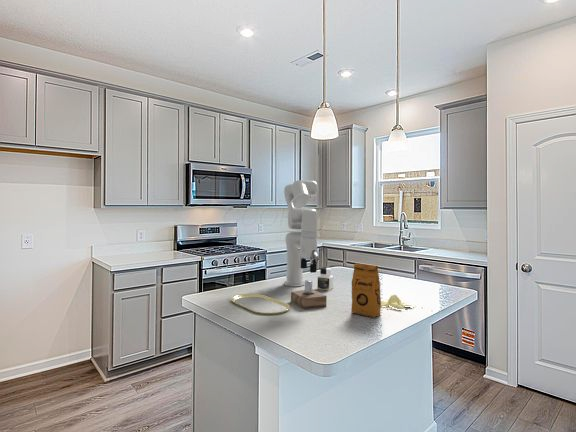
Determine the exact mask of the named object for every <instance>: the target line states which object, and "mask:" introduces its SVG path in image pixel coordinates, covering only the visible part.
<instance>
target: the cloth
mask: <svg viewBox="0 0 576 432" xmlns="http://www.w3.org/2000/svg"><path fill="white" fill-rule="evenodd" d="M387 300H388V301H387V302H386V301H382V300H381V307H382V306H389V305H390V306H392V307H394V308H397V309H407V308H404V307H405V306H412V305H403V304H405V303H406V304H409V303H408V302H402V300H401V299H400V298H399V297H398V295H397V294H391V295H390V297H389V298H388V299H387Z"/></svg>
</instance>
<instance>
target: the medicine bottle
mask: <svg viewBox="0 0 576 432" xmlns="http://www.w3.org/2000/svg"><path fill="white" fill-rule="evenodd" d="M333 288H334V275H332V269H331V268H330V267H327V266H325V267H321V268H320V275H319V276H317V290H321V291H322V290H324V291H330V290H332V289H333Z"/></svg>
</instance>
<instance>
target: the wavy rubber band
mask: <svg viewBox="0 0 576 432" xmlns="http://www.w3.org/2000/svg"><path fill="white" fill-rule="evenodd" d="M248 297H249V298H250V297H251V298H253V297H254V298H260V299H265V300H267V301H269V302H273V303H274V304H277V305H280V306H282V307H285V308H286V309H285V310H281V311H276V312H274V311H273V312H265V311H263V312H262V311H257V310H253V309H251V308H249V307H246V306H244V305H242V304H241V303H238V302H236V300H238V299H242V298H248ZM231 302H232V303H233V304H234V305H237V306H239V307H241V308H244V309H245V308H246V309H245V310H248V311H250V312H252V313H255V314H257V313H258V315H265V316H266V315H267V316H269V315H270V316H271V315H272V316H273V315H280V314H284V313H287V312H288V311H289V310H290V308H291V306H290V304H288V303H286V302H284V301H281V300H278V299H275V298H272V297H270V296H267V295H264V294H259V293H245V294H238V295H235V296H233V297H231Z"/></svg>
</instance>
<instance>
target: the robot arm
mask: <svg viewBox="0 0 576 432" xmlns="http://www.w3.org/2000/svg"><path fill="white" fill-rule="evenodd" d="M318 192H319V186H318V183H317V182H316V181H315V180H307V179H305V180H302V179H300V180H295V181H294V182H292V183H291V184H287V185H285V186H284V190H283V193H284V199H285V201H286V206H287V225H288V228H289V229H290V230H298V231H291V232H290V231H289V232H288V233H286V235H285V244H286V245H285V246H286V278H285V279H286V280H284V282H283V284H284V285H285V286H287V287H302V286H305V281H303V272H304V271H303V270H304V269H307V268H308V261H309V262H310V263H309V273H317V271H318V270H317V269H318V268H317V266H318V262H319V254H318V242H317V239H318V217H319V216H318V215H319V214H318V211H317V210H316V209H315V208H312V207H311V208H310V207H307V208H306V207H305V206H307V205H308V204H310V201H311V199H313V198H314V197H316V196H317V194H318Z"/></svg>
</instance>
